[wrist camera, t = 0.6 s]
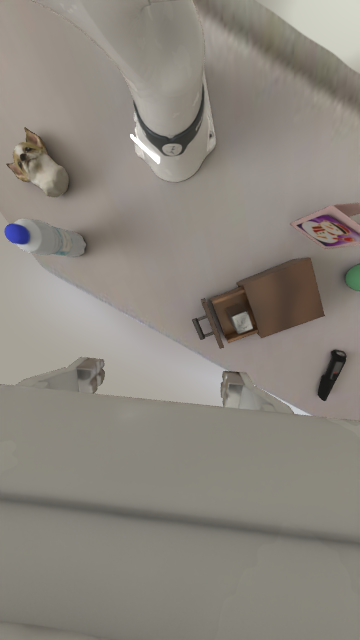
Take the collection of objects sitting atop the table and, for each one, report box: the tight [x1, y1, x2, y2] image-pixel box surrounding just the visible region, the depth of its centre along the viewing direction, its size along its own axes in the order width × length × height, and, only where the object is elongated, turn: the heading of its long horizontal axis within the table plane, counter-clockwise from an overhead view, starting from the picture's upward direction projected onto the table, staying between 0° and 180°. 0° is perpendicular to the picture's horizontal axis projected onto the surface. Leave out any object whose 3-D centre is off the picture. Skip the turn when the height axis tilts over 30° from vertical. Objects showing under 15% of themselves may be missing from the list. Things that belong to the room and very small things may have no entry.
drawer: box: [192, 286, 258, 349], centre depth 52 cm, size 19×13×5 cm
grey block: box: [225, 303, 253, 334], centre depth 48 cm, size 4×4×10 cm
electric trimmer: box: [318, 350, 347, 401], centre depth 57 cm, size 4×16×3 cm, turn 170°
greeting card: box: [290, 203, 360, 249], centre depth 41 cm, size 11×7×15 cm, turn 58°
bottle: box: [5, 219, 86, 257], centre depth 43 cm, size 7×7×20 cm
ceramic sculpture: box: [6, 127, 69, 197], centre depth 44 cm, size 11×9×15 cm
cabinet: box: [237, 258, 325, 338], centre depth 50 cm, size 16×15×7 cm
